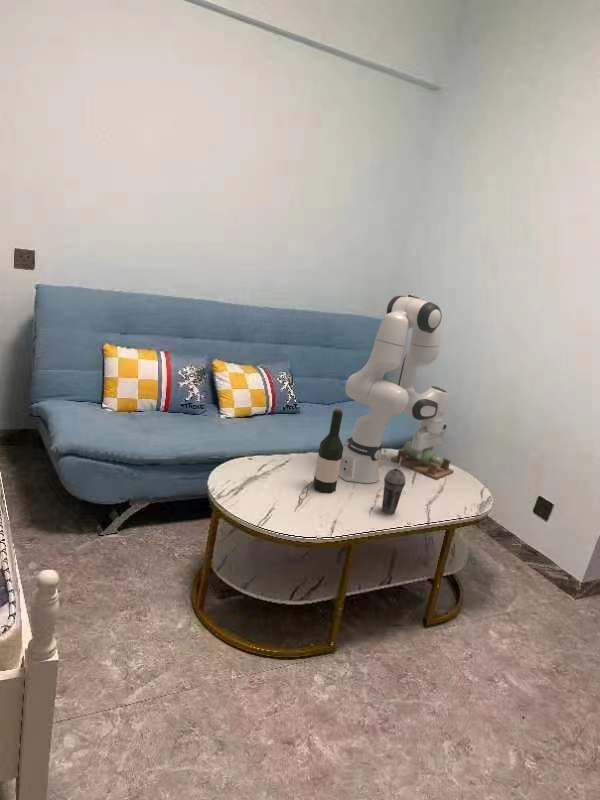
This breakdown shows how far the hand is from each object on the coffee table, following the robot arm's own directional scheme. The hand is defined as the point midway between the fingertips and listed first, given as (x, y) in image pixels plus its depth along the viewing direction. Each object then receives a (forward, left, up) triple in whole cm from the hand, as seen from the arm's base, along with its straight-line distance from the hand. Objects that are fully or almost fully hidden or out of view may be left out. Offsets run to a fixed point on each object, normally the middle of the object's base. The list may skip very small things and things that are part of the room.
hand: (423, 456), depth 258 cm
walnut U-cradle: (0, 0, -5) cm, 5 cm away
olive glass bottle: (-9, 0, +1) cm, 9 cm away
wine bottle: (-8, -55, -5) cm, 56 cm away
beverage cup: (+16, -49, -5) cm, 52 cm away
